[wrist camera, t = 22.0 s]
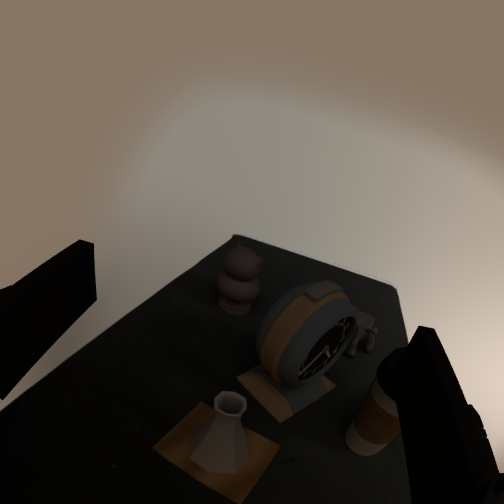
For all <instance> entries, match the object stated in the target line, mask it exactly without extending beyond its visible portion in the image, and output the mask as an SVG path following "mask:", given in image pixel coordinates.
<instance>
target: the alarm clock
mask: <svg viewBox="0 0 504 504" xmlns="http://www.w3.org/2000/svg"><path fill="white" fill-rule="evenodd" d="M342 291H343V288H341V287H340V286H338V285H337V284H335V283H334V282H332V281H321V282H318V283H317V282H310V283H303V284H300V285H298V286H295V287H293V288H292V289H290V290H289V291H288V292H286V293H285V294H283V295H282V296H281V297H280V298H279V299H278V300H277V301H276V302H275V303H274V304H273V306H272V307H271V308H270V309H269V311H268V312H267V313H266V315H265V317H264V318H263V320H262V322H261V323H260V326H259V329H258V331H257V334H256V341H255V343H256V350H257V355H258V357H259V358H260V361H261V365H258V366H256V367H254V368H252V369H250V371H249V372H246V373H244V374H242V375H239V376H237V377H236V378H237V379H238V380H239V382H240V383H241V384H242V385H243V386H244V387H245V388H246V389H247V390H248V391H249V392H250V393H251V394H252V395H253V396H254V397H255V398H256V400H257V401H258V402H259V403H260V404H261V405H262V406H263V407H264V408H265V409H266V410H267V411H268V412H269V413H270V414H271V415H272V416H273V417H274V418H275V419H276V420H277V421H278V422H279V423H281V422H283V421H285V420H286V419H288V418H290V417H291V416H293V415H294V414H296V413H297V412H299V411H301V410H302V409H304V408H305V407H307V406H308V405H310V404H311V403H313V402H314V401H316V400H317V399H319V398H320V397H322V396H323V395H325V394H326V393H328V392H329V391H330V390H332V389H333V388H335V387H336V385H335V384H333V383H332V382H331V381H330V380H329V379H327V378H326V377H325V376H324V375H323V374H324V373H325V372H326V371H327V370H328V369H329V368H330V367H331V366H332V365H333V364H334V363H335V362H336V361H337V359H338V358H339V357H340V356H341V354H342V353H343V352H344V350H345V349H346V347H347V345H348V344H349V342H350V340H351V338H352V336H353V333H354V331H355V327H356V323H357V314H356V312H355V309H354V307H353V306H352V304H351V303H350V302H349V299H348V298H347V296H346V295H345V294H344V293H342Z"/></svg>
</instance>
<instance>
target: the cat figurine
mask: <svg viewBox="0 0 504 504" xmlns="http://www.w3.org/2000/svg"><path fill="white" fill-rule="evenodd" d="M263 259H264V258H261V257H258V255H257V254H256V253H255V252H254V251H252V250H251V249H249V248H245V247H242V246H241V244H240V243H239V242H238V240H237V242H236V245H235V247H234V248H233V249H231V250H230V251H229V252H227V254H226V255H225V257H224V261H223V266H224V270H223V271H222V272H221V273H220V274H219V275H218V278H217V287H218V290H219V292H220V293H221V294H220V297H219V302H218V303H219V306H220V308H221V309H222V310H223V311H225V312H227V313H229V314H233V315H243V314H246V313H248V312H249V311H250V310H251V306H252V300H254V299H255V298H256V297H257V295H258V294H259V292H260V283H259V280H258V278H257V276H258V275H259V273H260V271H261V262H262V261H263Z"/></svg>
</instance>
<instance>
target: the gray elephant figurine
mask: <svg viewBox="0 0 504 504" xmlns="http://www.w3.org/2000/svg"><path fill="white" fill-rule="evenodd" d="M354 309H355V312H356V314H357V323H356V327H355V331H354V333H353V336H352V338H351V340H350V342H349V344H348V345H347V348H346V349H345V354H346V355H347V356H350V357H354V356H355V355H356V347H357V344H358V341H359V340H360V339H365V340H366V346H365V350H366V352H367V353H370V352H371V351H372V350H373V348H374V338H375V335H377V334H378V328H374V327H373V326H374V321H375V317H373V316H371V314H370V313H364V312H358V310H359V309H358V308H357V307H354Z"/></svg>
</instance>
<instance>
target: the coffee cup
mask: <svg viewBox="0 0 504 504" xmlns="http://www.w3.org/2000/svg"><path fill="white" fill-rule="evenodd" d="M406 348H407V347H402V348H398V349H396V350H394V351H392V352H391V353H390V354H389V355H388V357H386V358H385V359H384V360H382V362H381V363H380V364H379V366H378V368H377V377H375V378H374V380H373V381H372V383H371V385H370V387H369V389H368V391H367V393H366V395H365V397H364V399H363V401H362V403H361V405H360V407H359V409H358V411H357V413H356V415H355V417H354V419H353V421H352V422H351V424H350V426H349V427H348V429H347V431H346V434H345V440H346V443H347V445H348V447H349V448H350V449H351V450H352V451H353V452H355V453H357V454H359V455H362V456H371V455H374V454H376V453H378V452H379V451H380V450H381V449H382V448H384V447H385V446H386V445H387V444H388V443H389V442H390V441H392V440H393V439H394V438H395V437H396V436H397V435H399V434H400V433H401V427H400V422H399V417H398V412H397V407H396V402H395V397H394V393H393V388H392V384H391V380H390V374H391V373H392V371H393V369H394V368H395V366H396V364H397V363H398V361H399V360H400V358H401V356H402V354H403V353H404V351H405V349H406Z"/></svg>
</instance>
